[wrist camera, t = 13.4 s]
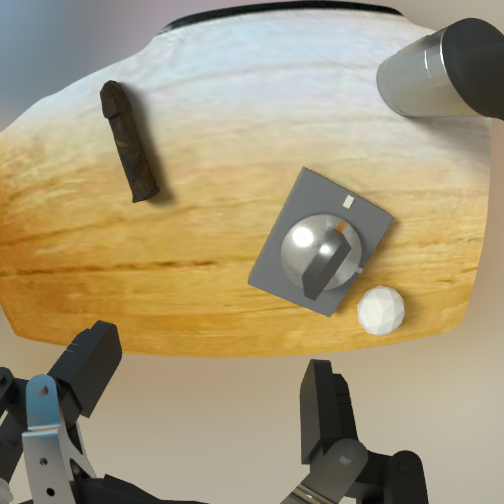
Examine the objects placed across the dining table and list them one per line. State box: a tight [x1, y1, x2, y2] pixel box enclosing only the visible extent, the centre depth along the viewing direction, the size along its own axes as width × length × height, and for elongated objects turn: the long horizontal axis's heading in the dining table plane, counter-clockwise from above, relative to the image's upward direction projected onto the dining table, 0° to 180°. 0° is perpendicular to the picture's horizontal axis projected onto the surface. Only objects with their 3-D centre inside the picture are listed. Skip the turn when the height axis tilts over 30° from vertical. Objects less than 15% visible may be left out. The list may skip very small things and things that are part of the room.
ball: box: [357, 285, 405, 336], centre depth 40 cm, size 8×8×8 cm
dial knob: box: [280, 213, 361, 301], centre depth 35 cm, size 11×11×6 cm
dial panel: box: [247, 167, 394, 317], centre depth 39 cm, size 18×14×3 cm
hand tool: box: [100, 80, 159, 203], centre depth 34 cm, size 19×4×5 cm, turn 14°
